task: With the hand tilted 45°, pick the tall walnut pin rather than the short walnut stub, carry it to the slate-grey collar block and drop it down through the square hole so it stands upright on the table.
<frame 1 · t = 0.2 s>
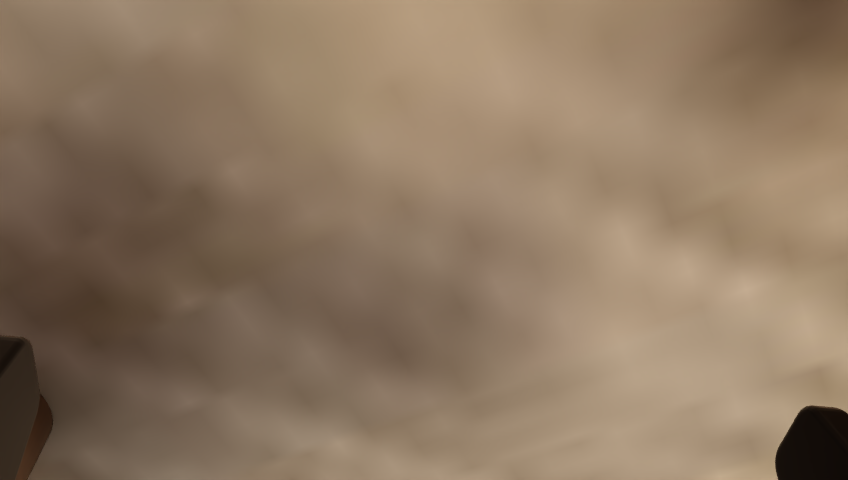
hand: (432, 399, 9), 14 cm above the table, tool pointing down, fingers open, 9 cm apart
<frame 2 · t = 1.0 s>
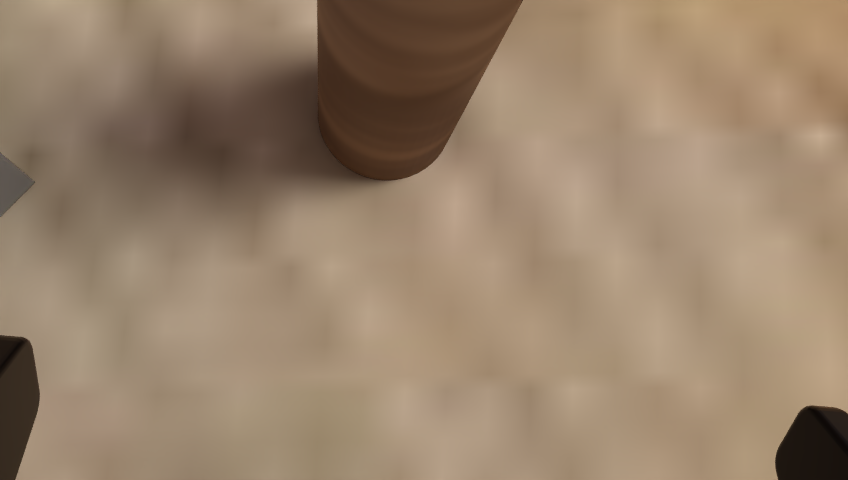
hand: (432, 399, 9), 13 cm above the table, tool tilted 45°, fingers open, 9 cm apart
tall walnut pin: (385, 114, 24), on the table
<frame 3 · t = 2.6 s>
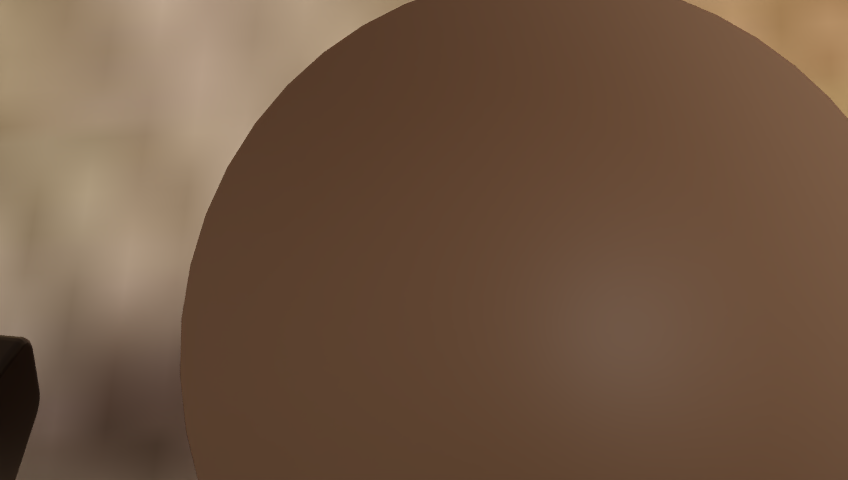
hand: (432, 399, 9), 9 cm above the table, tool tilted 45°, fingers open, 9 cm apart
tall walnut pin: (379, 384, 18), on the table
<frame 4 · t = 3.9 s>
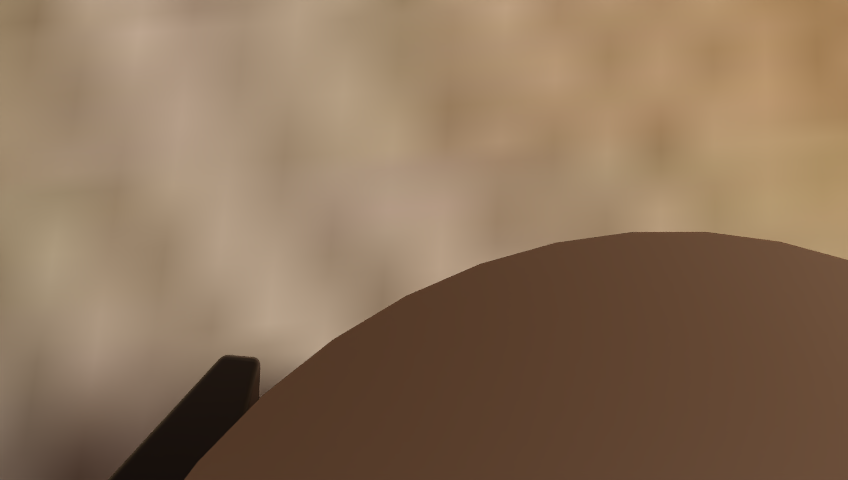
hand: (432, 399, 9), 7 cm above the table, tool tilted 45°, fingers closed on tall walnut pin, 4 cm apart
tall walnut pin: (376, 466, 16), on the table, touching gripper
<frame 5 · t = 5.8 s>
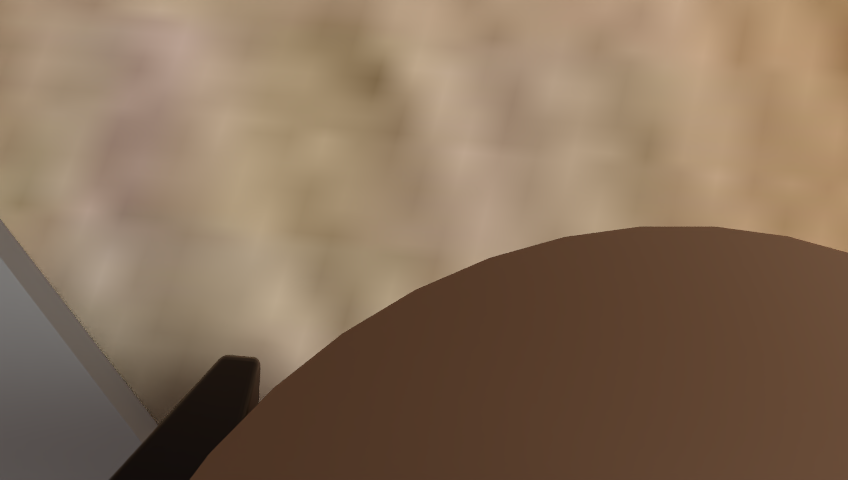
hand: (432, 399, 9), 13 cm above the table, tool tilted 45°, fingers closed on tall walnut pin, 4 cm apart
tall walnut pin: (378, 465, 16), point 6 cm above the table, touching gripper
when the fingers open (9 cm above the table, at t = 8.1 s): tall walnut pin drops 2 cm, resting in slate collar block.
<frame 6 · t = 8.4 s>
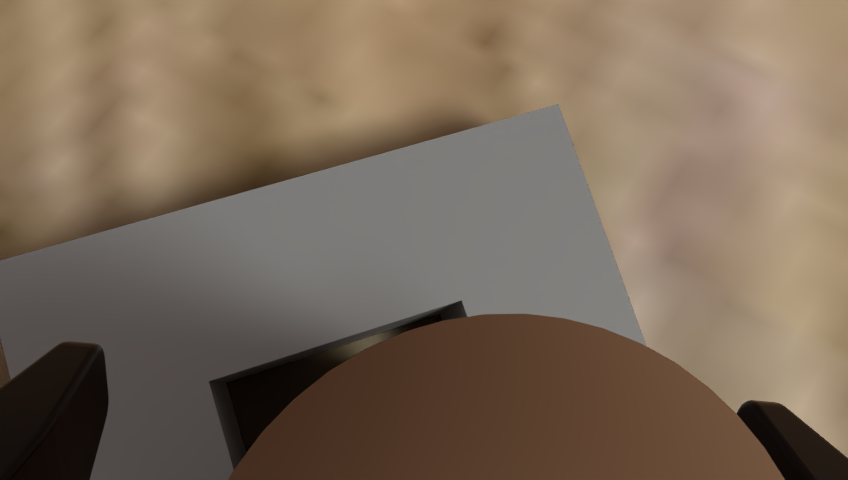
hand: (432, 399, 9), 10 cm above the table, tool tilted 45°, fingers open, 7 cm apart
slate collar block: (369, 456, 18), on the table
tall walnut pin: (369, 457, 18), resting in slate collar block
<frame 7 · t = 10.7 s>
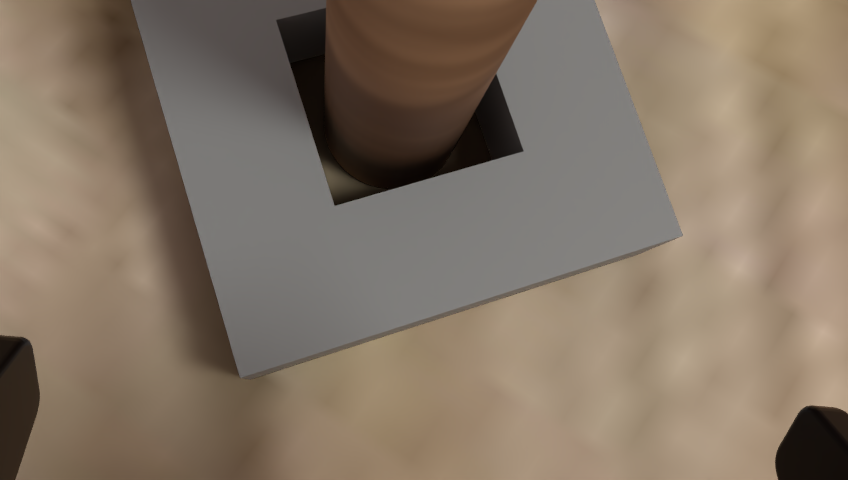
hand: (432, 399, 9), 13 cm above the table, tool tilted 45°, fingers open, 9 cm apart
slate collar block: (390, 122, 24), on the table
tall walnut pin: (390, 124, 24), resting in slate collar block
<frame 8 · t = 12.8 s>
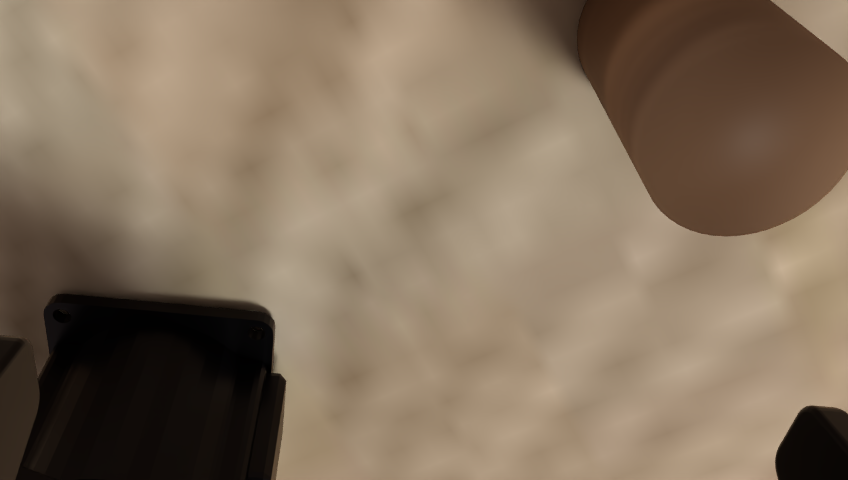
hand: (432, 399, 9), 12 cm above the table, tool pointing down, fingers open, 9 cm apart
short walnut stub: (659, 30, 19), on the table
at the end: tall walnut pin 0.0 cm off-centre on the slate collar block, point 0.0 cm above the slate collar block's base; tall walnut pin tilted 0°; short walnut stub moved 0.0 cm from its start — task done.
